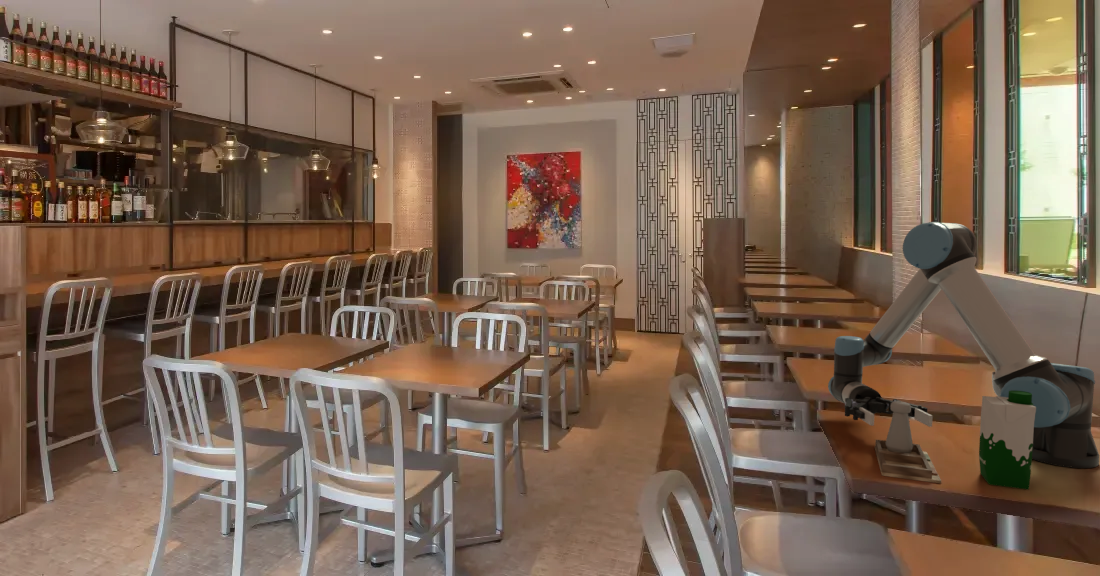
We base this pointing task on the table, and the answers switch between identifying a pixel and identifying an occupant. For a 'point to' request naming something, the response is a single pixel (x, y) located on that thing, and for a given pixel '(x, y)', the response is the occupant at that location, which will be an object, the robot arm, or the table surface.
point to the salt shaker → (900, 429)
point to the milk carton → (1007, 439)
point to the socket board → (906, 463)
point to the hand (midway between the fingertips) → (901, 420)
